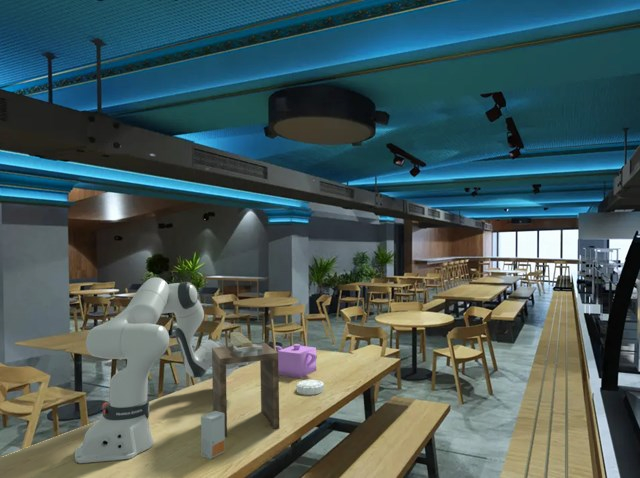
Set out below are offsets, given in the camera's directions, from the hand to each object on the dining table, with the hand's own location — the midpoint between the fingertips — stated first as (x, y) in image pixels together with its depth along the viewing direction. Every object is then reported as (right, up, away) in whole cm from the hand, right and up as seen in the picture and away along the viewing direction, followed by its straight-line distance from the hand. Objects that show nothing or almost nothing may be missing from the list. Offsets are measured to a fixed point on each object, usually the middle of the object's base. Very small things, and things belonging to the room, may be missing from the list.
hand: (232, 349), depth 186 cm
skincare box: (+3, -21, -46) cm, 50 cm away
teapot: (+23, -22, +44) cm, 54 cm away
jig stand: (+9, -21, -22) cm, 32 cm away
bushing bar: (+6, +5, -16) cm, 18 cm away
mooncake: (+31, -22, +15) cm, 41 cm away
